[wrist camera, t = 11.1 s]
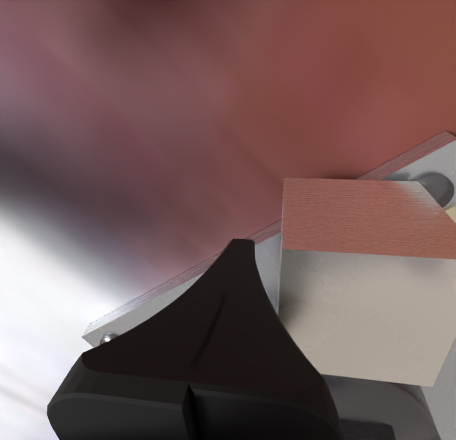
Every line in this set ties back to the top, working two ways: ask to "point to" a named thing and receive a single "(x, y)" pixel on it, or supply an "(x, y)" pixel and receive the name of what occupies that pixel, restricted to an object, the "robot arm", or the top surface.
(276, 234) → the flange plate
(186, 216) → the top surface
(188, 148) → the top surface
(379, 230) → the square socket hub
